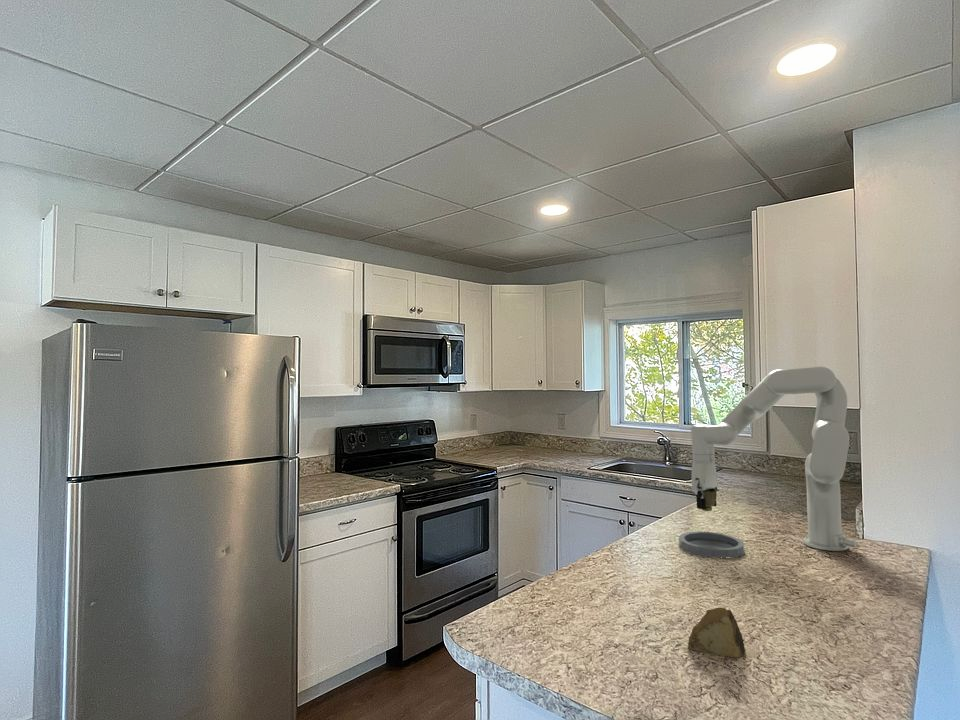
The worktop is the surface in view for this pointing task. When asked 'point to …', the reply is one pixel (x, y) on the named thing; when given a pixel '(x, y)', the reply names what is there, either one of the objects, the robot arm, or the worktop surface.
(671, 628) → the worktop surface
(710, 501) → the cup
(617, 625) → the worktop surface
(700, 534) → the round dish
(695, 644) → the rock
